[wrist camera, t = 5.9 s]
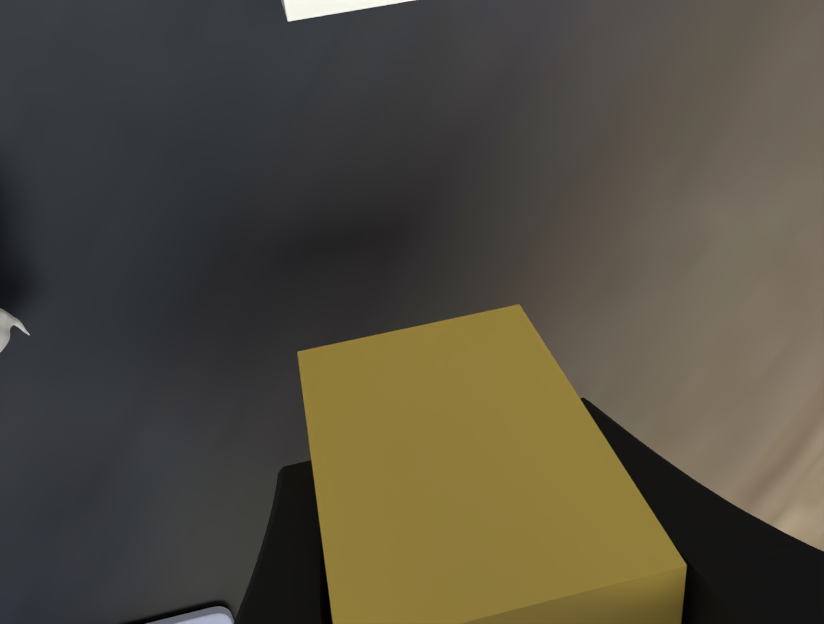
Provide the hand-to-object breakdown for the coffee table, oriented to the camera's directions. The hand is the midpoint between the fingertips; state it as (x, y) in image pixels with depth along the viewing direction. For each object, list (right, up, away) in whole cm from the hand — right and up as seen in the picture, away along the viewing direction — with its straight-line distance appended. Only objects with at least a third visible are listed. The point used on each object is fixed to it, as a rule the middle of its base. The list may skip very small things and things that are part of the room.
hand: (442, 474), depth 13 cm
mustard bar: (0, +1, +1) cm, 2 cm away
